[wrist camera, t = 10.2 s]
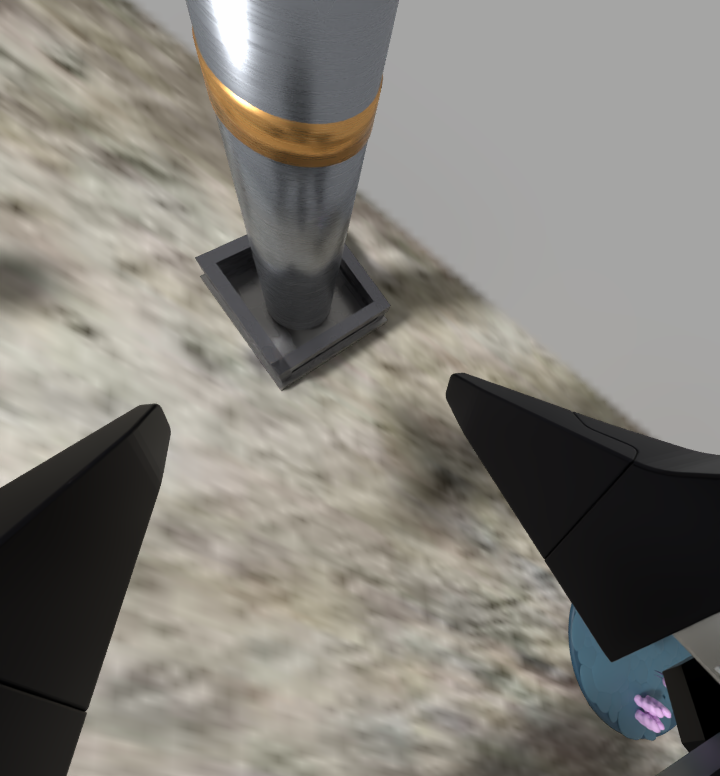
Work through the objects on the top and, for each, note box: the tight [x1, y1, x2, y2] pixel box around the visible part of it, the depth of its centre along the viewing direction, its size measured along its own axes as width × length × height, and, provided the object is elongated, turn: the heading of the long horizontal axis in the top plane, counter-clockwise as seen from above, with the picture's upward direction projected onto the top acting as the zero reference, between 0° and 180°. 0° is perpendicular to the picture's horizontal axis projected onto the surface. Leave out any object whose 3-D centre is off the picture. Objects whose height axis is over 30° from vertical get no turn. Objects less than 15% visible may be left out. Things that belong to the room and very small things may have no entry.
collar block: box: [195, 235, 391, 391], centre depth 18 cm, size 9×9×3 cm
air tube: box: [186, 0, 399, 330], centre depth 12 cm, size 4×4×14 cm
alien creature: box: [568, 604, 692, 741], centre depth 17 cm, size 12×12×7 cm
